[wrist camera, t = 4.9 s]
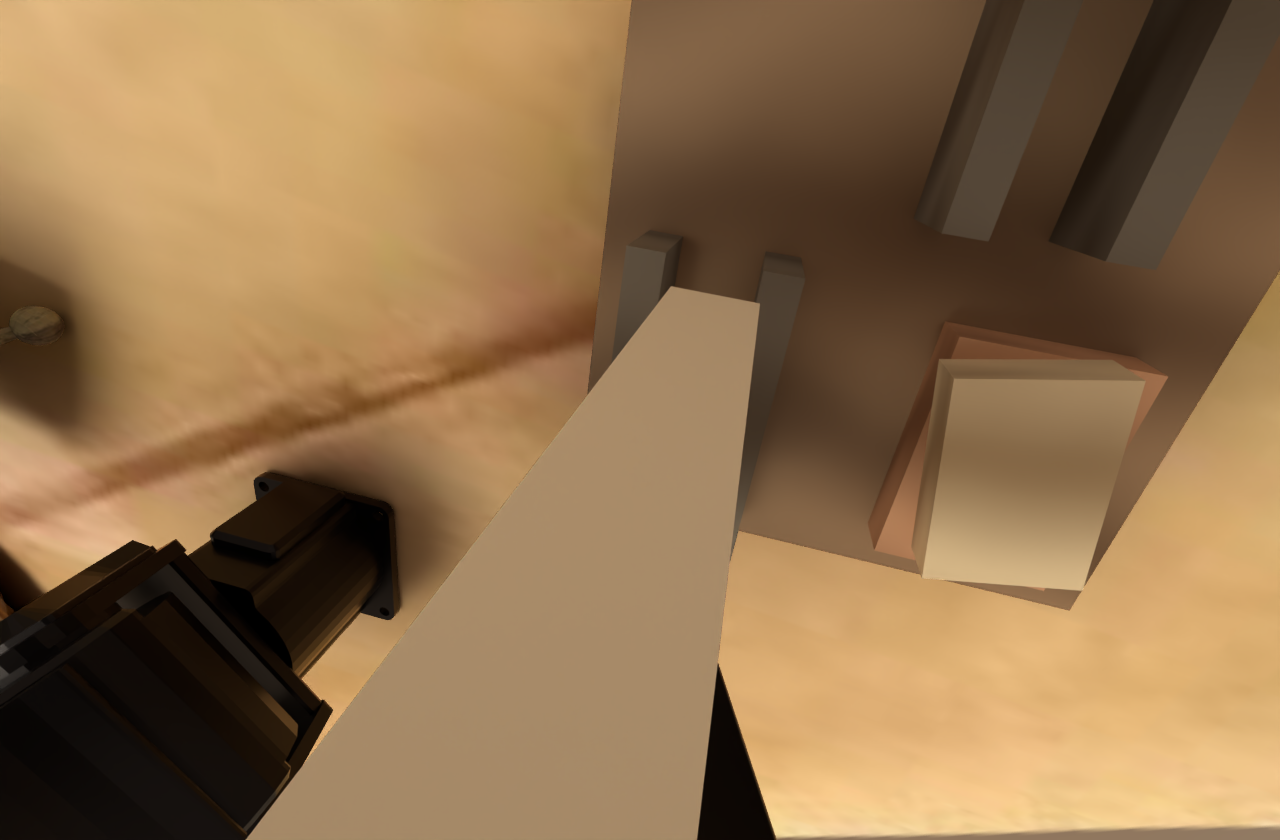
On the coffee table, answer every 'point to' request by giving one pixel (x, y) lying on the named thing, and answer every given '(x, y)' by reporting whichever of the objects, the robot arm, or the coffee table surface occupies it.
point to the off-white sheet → (565, 626)
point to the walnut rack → (941, 212)
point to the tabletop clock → (33, 326)
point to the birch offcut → (1021, 468)
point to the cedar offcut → (903, 478)
